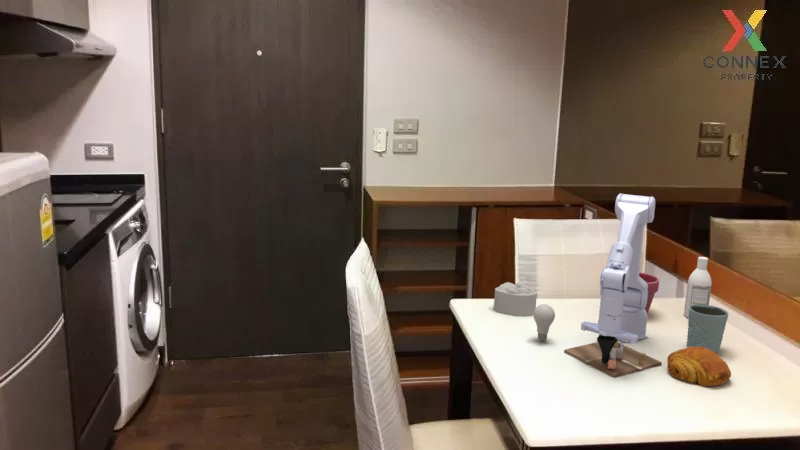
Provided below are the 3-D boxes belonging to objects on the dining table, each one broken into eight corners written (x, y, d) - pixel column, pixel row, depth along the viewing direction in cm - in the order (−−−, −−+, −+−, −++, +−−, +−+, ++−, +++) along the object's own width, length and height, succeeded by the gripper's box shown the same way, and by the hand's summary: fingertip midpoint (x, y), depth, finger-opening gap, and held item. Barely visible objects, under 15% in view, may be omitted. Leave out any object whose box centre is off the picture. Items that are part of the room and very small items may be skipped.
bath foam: (711, 320, 215) (719, 260, 210) (692, 321, 213) (700, 260, 209) (697, 313, 221) (705, 254, 217) (679, 314, 220) (686, 255, 215)
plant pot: (617, 304, 228) (621, 267, 225) (660, 313, 220) (664, 276, 217) (603, 315, 216) (607, 277, 214) (647, 325, 208) (652, 285, 206)
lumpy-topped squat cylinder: (502, 302, 225) (504, 278, 223) (539, 310, 219) (541, 285, 217) (490, 311, 216) (492, 285, 215) (529, 319, 210) (531, 293, 208)
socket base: (610, 341, 194) (612, 324, 193) (663, 365, 178) (665, 347, 177) (562, 352, 185) (564, 334, 184) (614, 379, 169) (616, 359, 168)
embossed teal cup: (678, 349, 190) (683, 309, 187) (691, 340, 197) (696, 301, 195) (715, 360, 183) (721, 318, 181) (727, 350, 190) (733, 310, 188)
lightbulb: (553, 346, 189) (556, 309, 187) (531, 343, 190) (533, 307, 188) (552, 338, 195) (555, 302, 193) (531, 336, 196) (534, 300, 194)
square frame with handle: (603, 349, 185) (604, 340, 184) (622, 352, 183) (623, 342, 182) (601, 367, 173) (602, 357, 172) (621, 370, 171) (622, 360, 171)
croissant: (655, 376, 177) (655, 348, 175) (700, 361, 182) (700, 333, 180) (698, 399, 164) (698, 369, 162) (745, 382, 169) (745, 353, 167)
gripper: (577, 309, 174) (573, 358, 177) (632, 324, 165) (626, 375, 168) (589, 303, 180) (584, 351, 183) (642, 317, 171) (637, 366, 173)
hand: (605, 362), depth 176 cm, fingers closed, pressing on square frame with handle
